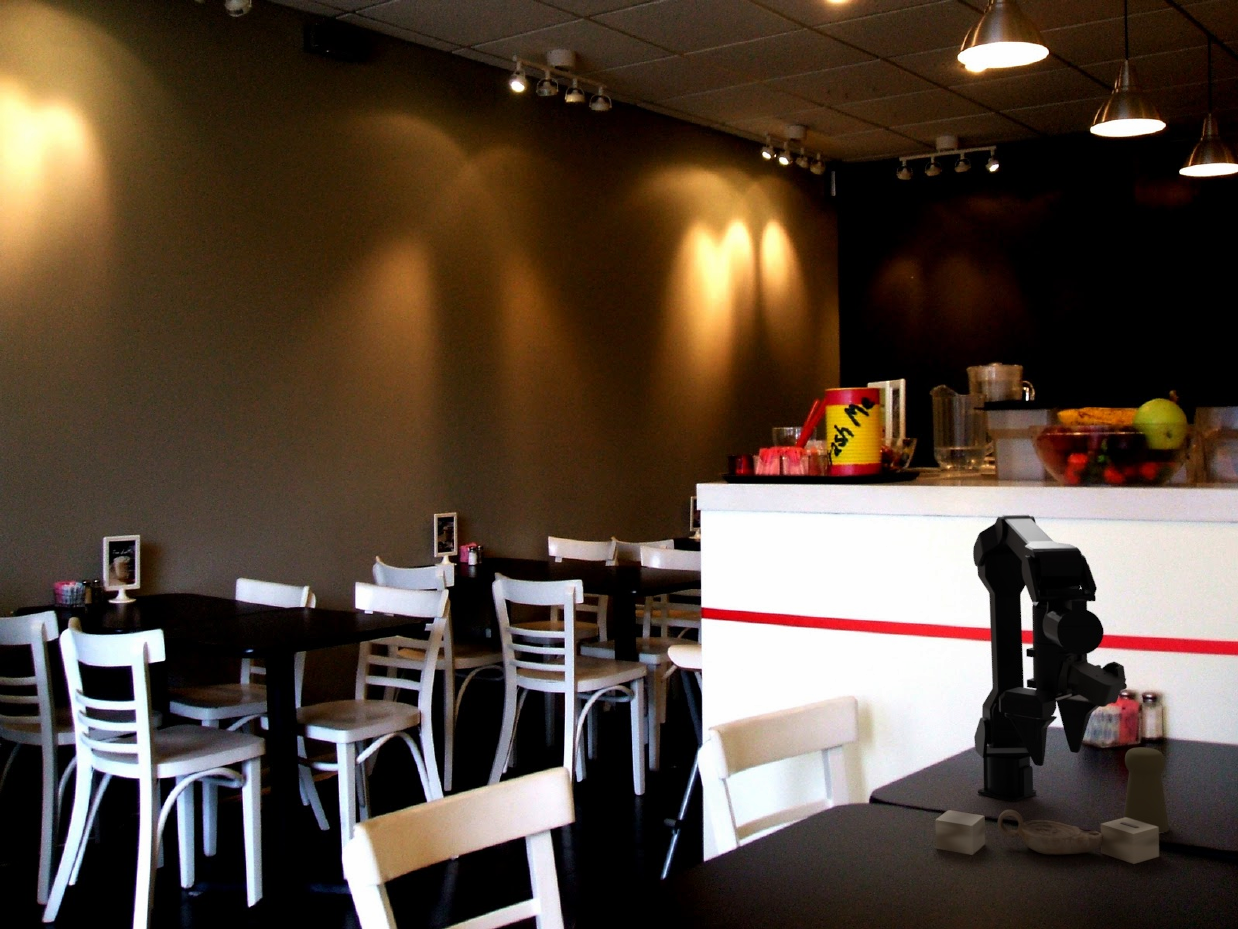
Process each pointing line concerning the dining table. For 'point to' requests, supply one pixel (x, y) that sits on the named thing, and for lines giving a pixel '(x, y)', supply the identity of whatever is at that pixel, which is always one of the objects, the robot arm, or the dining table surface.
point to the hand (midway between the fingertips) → (1057, 758)
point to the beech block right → (1130, 840)
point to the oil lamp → (1051, 835)
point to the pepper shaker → (1146, 787)
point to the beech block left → (960, 832)
